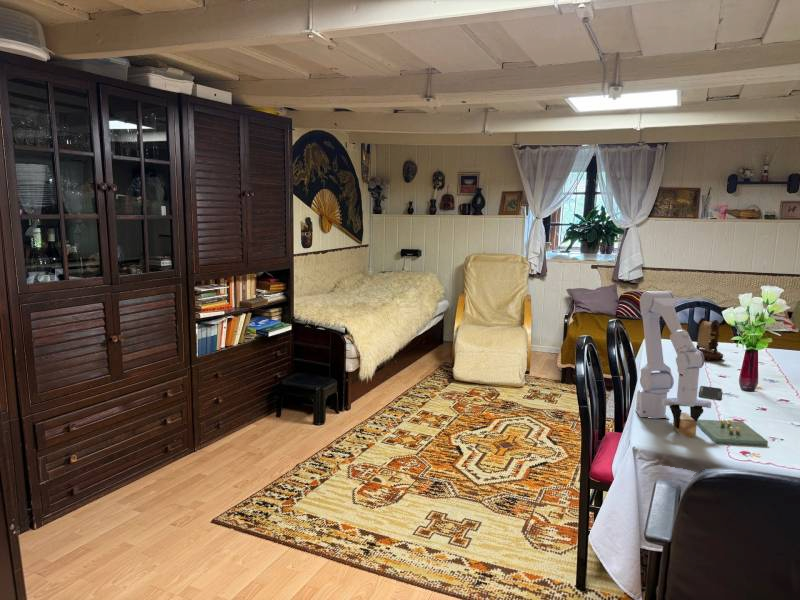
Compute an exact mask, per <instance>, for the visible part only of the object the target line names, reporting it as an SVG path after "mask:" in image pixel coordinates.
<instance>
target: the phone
mask: <svg viewBox="0 0 800 600" xmlns="http://www.w3.org/2000/svg"><path fill="white" fill-rule="evenodd" d="M722 392H723V389H722V388H719V387H713V386H705V385H700V386H699V391H698V397H699V398H702V399H707V398H708V399H707V400H714V399H716V400H715V401H721V400H722V395H723V393H722Z"/></svg>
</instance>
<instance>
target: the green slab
mask: <svg viewBox="0 0 800 600" xmlns="http://www.w3.org/2000/svg"><path fill="white" fill-rule="evenodd" d="M697 425H698V426H699V427H700V428H701V429H702V432H703V433H704V434H706V436H708V437H709V438H710V440H712V441H713V442H714V444H724V445H725V444H726V445H727V444H728V445H744V446H746V445H747V446H759V447H768V446H769V445H768V443H769V441H768V440H767V439H766V438H764V437H763V436H762V435H760V434H759V433H758V432H757V431H756V430H754V429H753V428H752V427H750V426H749V425H748V424H746V423H745V422H744V421H737V420H735V421H732V420H731V419H727V420H725V419H721V420H715V419H712V420H710V419H699V418H698V420H697ZM698 426H697V427H698ZM699 427H698V428H699ZM700 428H699V429H700ZM701 429H700V430H701Z"/></svg>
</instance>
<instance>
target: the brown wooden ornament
mask: <svg viewBox="0 0 800 600" xmlns="http://www.w3.org/2000/svg"><path fill="white" fill-rule="evenodd" d="M720 328H721V325H720V322H719V320H717V319H713V320H712V321H708V320H707V319H706V317H701V318H700V319H699V321H698V328H697V329H698V330H697V331H696V334H697V337H696V338H697V339H696V347H695V348H697V349H698V350H699V351H701V352H702V353H703V356H704V359H706V361H707V362H709V361H710V360H711V359H712V360H719V359H720V360H722V359H723V358H724V354H723V353H721V351H718V347H719V337H720V334H719V333H720ZM711 337H714V338H712V339H711ZM710 339H711V340H710Z"/></svg>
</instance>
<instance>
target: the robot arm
mask: <svg viewBox="0 0 800 600" xmlns="http://www.w3.org/2000/svg"><path fill="white" fill-rule="evenodd" d="M675 298H676V297H675V295H674V293H673V292H672V291H671V290H664V291H663V290H662V291H661V290H658V291H657V290H653V291H651V290H650V291H648V290H645V291H643V292H642V294H641V295H640V297H639V299H638V300H639V309H640V314H641V316H642V323H643V324H642V325H643V333H644V336H643V337H644V343H645V354H646V362H647V363H646V364H645V365H644V366H643V367H642V368H641V369H640V377H639V384H640V386H641V388H642V389H640V390H637V393H636V402H635V404H636V405H635V410H634V411H635V412H636V413H637V414H638V416H639V417H640V418H641V417H651V418H650V419H657V418H666V419H665V420H670V417H669V416H668V414H667V412H666V411H667V407H668V406H669V409H670V411H671V414H672V417H673V419H674V423H675V427H676V428H679V425H680V415H681V413H683V412H682V409H681V407H689V411H690V412H689V413H690V414H689V415H690V416H691V417H692V418H693V419H694V420H695V421H696V422H697V420H698V419H699V418H700V417H701V416H702V414H703V413H704V408H707V409H711V408H712V401H710V400H706V399H698V388H699V375H700V369H701V368H703V366H704V365H705V358H704V356H703V353H702V352H701V351H699V350H698V349H697V347H695V345H694V343H693V341H692V338H691V337H690V334H689V331H687V330H685V329H683V327H682V325H681V322H680V320H679V316H678V314H677V312H676V308H675V307H676V303H677V299H675ZM660 317H662V318H663V320H664V322H665V324H666V326H667V328H668V329H669V331H670V335H669V339H670V342H671V343H672V346H673V348H674V351H675V353H676V355H677V356H676V357H675V363H676V366H677V373H678V382H677V393H676V397H671V398H670V397H669V398H668V393H669V392H670V390H672V389H673V387H674V383H675V381H674V377H673V374H672V369H671V367H670V366H669V365H667V364H666V363H665V361H664V354H663V343H662V335H661V334H662V333H661V325H660Z"/></svg>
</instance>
